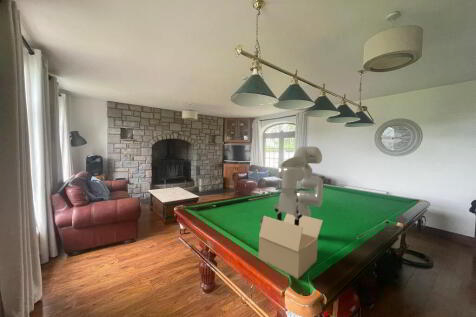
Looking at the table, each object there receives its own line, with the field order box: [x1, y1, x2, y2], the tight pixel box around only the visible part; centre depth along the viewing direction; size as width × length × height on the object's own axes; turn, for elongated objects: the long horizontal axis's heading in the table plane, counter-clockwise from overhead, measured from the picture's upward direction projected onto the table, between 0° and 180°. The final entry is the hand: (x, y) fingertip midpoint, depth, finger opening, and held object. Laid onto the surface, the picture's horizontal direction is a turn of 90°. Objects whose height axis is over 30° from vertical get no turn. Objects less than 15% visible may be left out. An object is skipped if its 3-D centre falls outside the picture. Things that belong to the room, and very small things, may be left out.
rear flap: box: [283, 213, 324, 238], centre depth 107 cm, size 11×22×1 cm
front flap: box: [258, 215, 303, 252], centre depth 90 cm, size 11×22×1 cm
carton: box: [257, 233, 319, 280], centre depth 96 cm, size 22×22×12 cm
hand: (287, 224), depth 95 cm, fingers open, 9 cm apart
